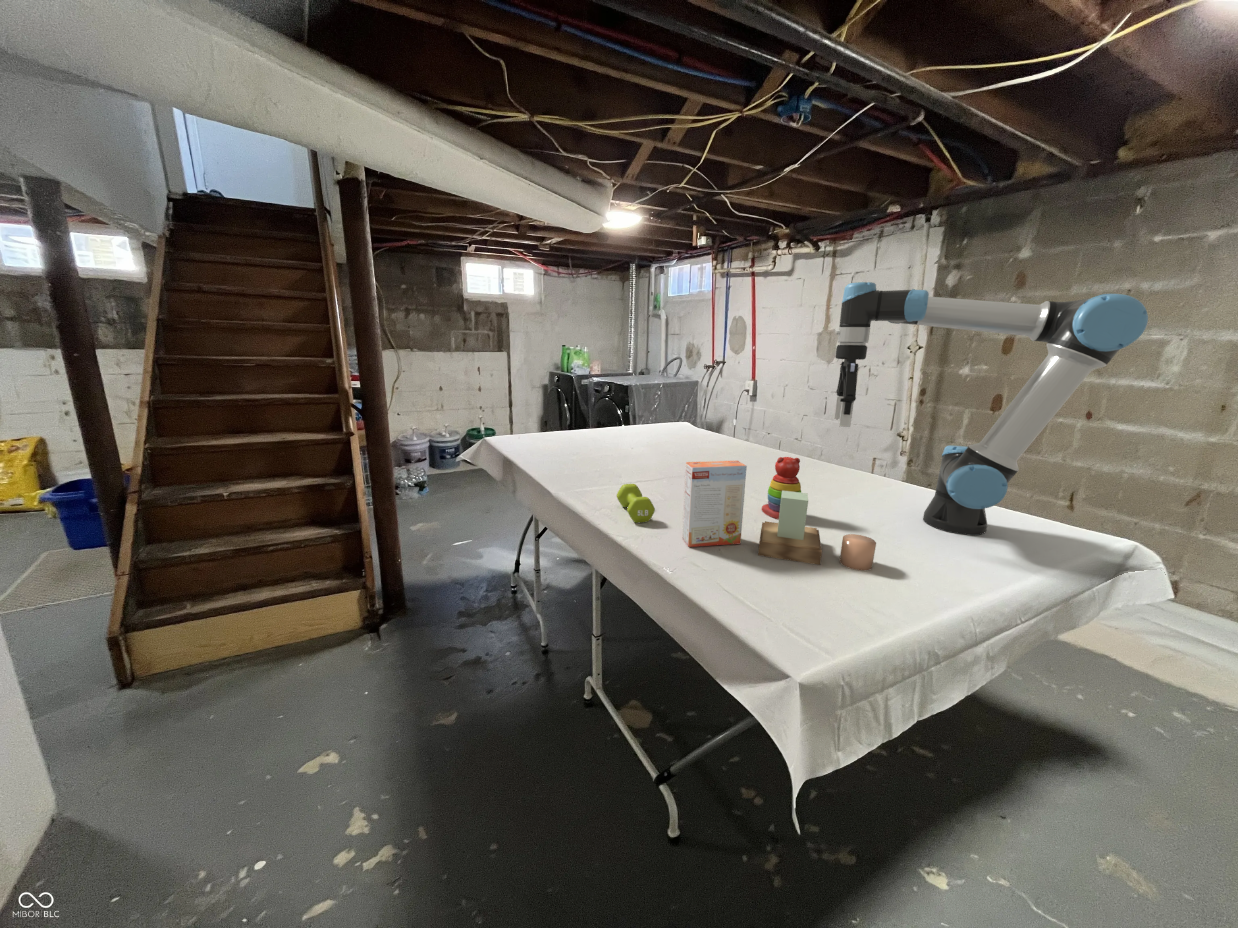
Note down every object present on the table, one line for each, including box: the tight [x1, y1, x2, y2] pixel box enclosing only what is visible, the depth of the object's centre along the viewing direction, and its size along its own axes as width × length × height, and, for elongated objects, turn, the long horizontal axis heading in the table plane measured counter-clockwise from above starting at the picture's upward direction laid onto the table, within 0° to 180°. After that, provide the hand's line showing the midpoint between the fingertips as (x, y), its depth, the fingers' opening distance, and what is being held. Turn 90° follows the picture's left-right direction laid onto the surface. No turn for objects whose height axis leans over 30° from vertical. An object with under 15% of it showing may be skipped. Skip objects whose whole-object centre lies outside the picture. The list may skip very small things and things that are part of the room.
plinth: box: [757, 521, 823, 566], centre depth 121 cm, size 14×14×4 cm
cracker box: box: [682, 460, 748, 548], centre depth 122 cm, size 14×6×21 cm, turn 100°
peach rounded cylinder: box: [838, 533, 877, 572], centre depth 113 cm, size 7×7×6 cm
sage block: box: [777, 491, 809, 540], centre depth 119 cm, size 6×6×10 cm
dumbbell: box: [616, 483, 656, 524], centre depth 142 cm, size 16×8×7 cm, turn 13°
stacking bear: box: [761, 456, 802, 520], centre depth 142 cm, size 11×10×18 cm
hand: (841, 422), depth 135 cm, fingers open, 13 cm apart
